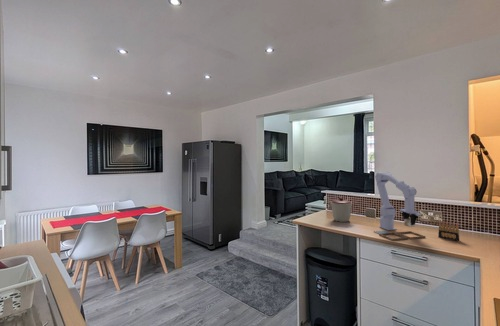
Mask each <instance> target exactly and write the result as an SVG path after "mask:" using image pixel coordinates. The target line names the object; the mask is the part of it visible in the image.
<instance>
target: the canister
mask: <svg viewBox="0 0 500 326" xmlns="http://www.w3.org/2000/svg"><path fill="white" fill-rule="evenodd" d="M330 204H331V211H332V212H331V213H332V218H333V220H334V221H336V222H338V221H339V223H345V222H349V220H351V214H352V213H351V212H352V204H353V202H352V201H350V200H349V199H348V200H347V199H344V197H343V196H339V198H338V199H333V200H331V201H330Z"/></svg>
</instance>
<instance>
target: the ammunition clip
mask: <svg viewBox="0 0 500 326" xmlns="http://www.w3.org/2000/svg"><path fill="white" fill-rule="evenodd" d="M438 238H440V239H445V240H451V241H456V242H460V229H459V222H456V223H455V222H454V221H453V222H451V221H449V223H448V220H446V221H445V220H440V219H439V221H438Z"/></svg>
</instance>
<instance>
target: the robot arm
mask: <svg viewBox="0 0 500 326" xmlns="http://www.w3.org/2000/svg"><path fill="white" fill-rule="evenodd" d="M374 178H375V181H376V186H377V187H376V188H377V190H378V193H379V197H380V201H381V206H380V208H379V210H380V218H379V227H378V228H381V229H383V230H385V231H394V230H395V231H396V230H397V228H395V226H394V225H395V223H394V222H395V216H396V215H397V211H396V209H395V208H394V206H393V205H392V204H391V202H390V198H389V194H388V192H387V191H388V190H387V188H386V184H387V183H388V182H391V183H392V184H393V185H395V187H396V189H398V190H399V191H401V192H402V194H403V198H404V208H399V212H400V214H401V216H402V217H403V220H404V219H411V225H415V226H416V221H417V220H418V218H419V217H420V216H421V213H420V212H418V211H416V210H415V196H416V195H417V189H416V187H415V186H410V185H408V184H407V183H405V181H404V180H403V181H402V180H400V181H399V180H398V179H397V178H396V177H395V176H393V174H392V173H391V172H388V171H387V172H386V171H385V172H384V171H382V172H377V173H376V174H375V177H374Z"/></svg>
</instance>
